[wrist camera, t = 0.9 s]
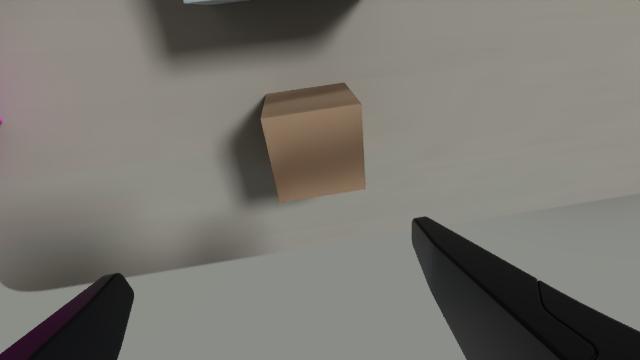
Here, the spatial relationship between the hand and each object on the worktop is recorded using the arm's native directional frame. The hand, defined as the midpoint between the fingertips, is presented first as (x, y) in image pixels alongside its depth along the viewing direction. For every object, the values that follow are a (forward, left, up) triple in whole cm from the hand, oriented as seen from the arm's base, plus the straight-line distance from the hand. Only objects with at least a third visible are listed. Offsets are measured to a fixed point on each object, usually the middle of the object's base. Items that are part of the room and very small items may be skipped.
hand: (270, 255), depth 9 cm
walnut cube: (-1, +2, -12) cm, 13 cm away
